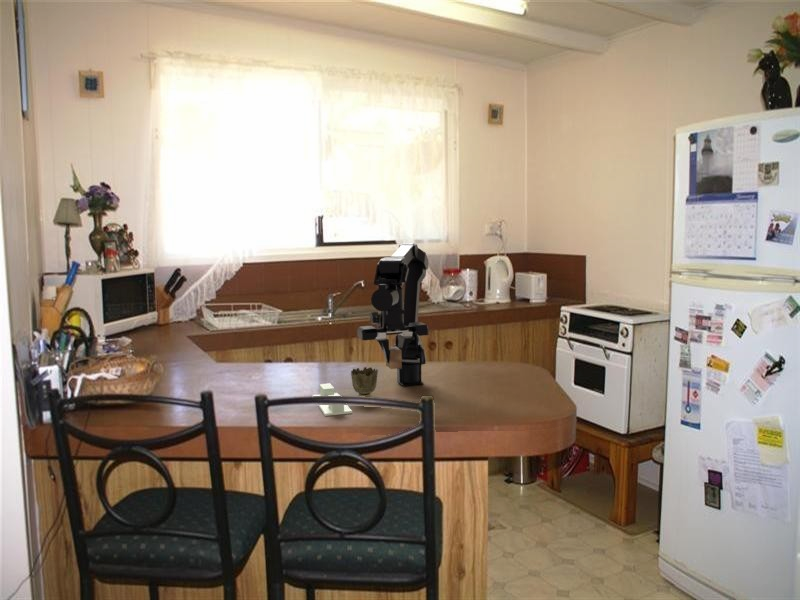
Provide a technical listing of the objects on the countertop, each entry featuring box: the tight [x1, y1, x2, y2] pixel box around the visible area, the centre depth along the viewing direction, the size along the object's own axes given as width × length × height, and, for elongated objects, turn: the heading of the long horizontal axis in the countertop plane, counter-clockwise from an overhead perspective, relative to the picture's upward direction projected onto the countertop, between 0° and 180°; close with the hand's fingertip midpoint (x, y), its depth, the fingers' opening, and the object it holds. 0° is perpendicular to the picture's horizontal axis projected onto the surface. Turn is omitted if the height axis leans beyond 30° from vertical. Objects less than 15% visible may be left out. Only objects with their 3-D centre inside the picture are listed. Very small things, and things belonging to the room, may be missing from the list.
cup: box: [350, 366, 379, 397], centre depth 175 cm, size 8×7×8 cm
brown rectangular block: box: [385, 346, 402, 370], centre depth 172 cm, size 3×4×5 cm, turn 19°
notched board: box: [312, 382, 353, 417], centre depth 170 cm, size 7×18×4 cm, turn 18°
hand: (393, 362), depth 172 cm, fingers closed on brown rectangular block, 3 cm apart
